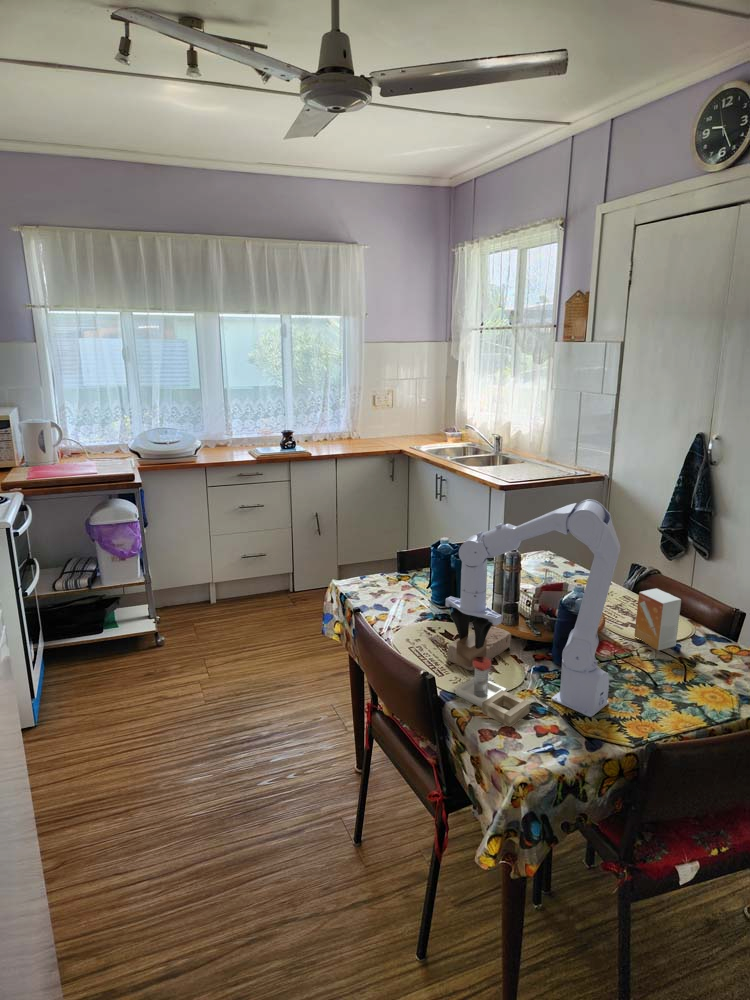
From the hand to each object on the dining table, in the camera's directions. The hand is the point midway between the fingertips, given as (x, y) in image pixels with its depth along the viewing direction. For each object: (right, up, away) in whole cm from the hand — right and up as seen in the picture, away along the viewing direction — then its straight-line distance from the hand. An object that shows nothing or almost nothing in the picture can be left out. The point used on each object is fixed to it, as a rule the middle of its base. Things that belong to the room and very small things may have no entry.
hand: (471, 643), depth 147 cm
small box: (+50, -4, +18) cm, 53 cm away
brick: (+4, -6, +13) cm, 15 cm away
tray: (+1, -10, -5) cm, 11 cm away
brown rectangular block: (0, -4, +1) cm, 4 cm away
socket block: (+5, -12, -12) cm, 18 cm away
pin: (+1, -10, -6) cm, 11 cm away
